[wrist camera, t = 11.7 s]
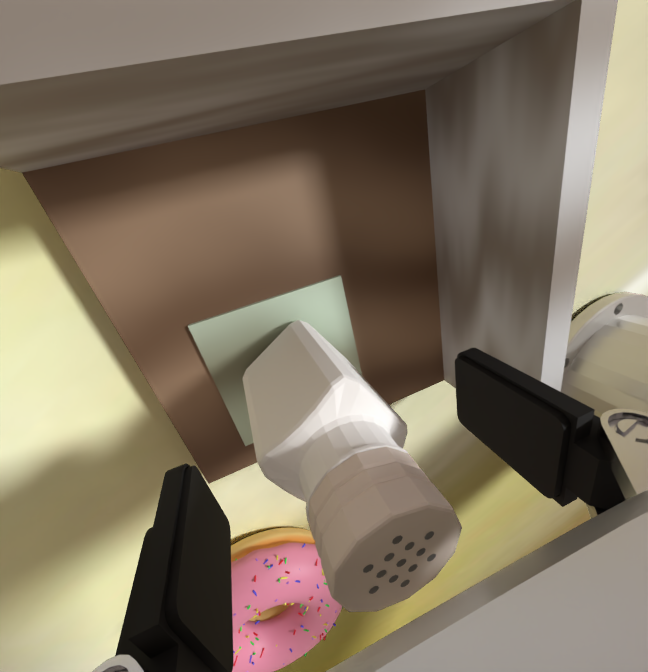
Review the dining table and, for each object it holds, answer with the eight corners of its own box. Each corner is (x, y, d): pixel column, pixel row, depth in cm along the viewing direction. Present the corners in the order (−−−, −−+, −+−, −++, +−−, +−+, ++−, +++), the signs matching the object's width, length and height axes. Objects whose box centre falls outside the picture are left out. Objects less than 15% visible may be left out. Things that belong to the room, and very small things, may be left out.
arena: (447, 364, 20) (554, 433, 14) (209, 466, 17) (206, 617, 11) (429, 60, 13) (629, -83, 7) (18, 136, 10) (-326, 0, 4)
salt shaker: (295, 414, 16) (386, 637, 7) (235, 372, 14) (268, 611, 6) (348, 359, 16) (502, 525, 7) (295, 310, 14) (422, 459, 5)
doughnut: (351, 566, 25) (374, 625, 22) (228, 642, 24) (231, 721, 20) (306, 488, 20) (326, 548, 17) (146, 578, 19) (129, 667, 15)
